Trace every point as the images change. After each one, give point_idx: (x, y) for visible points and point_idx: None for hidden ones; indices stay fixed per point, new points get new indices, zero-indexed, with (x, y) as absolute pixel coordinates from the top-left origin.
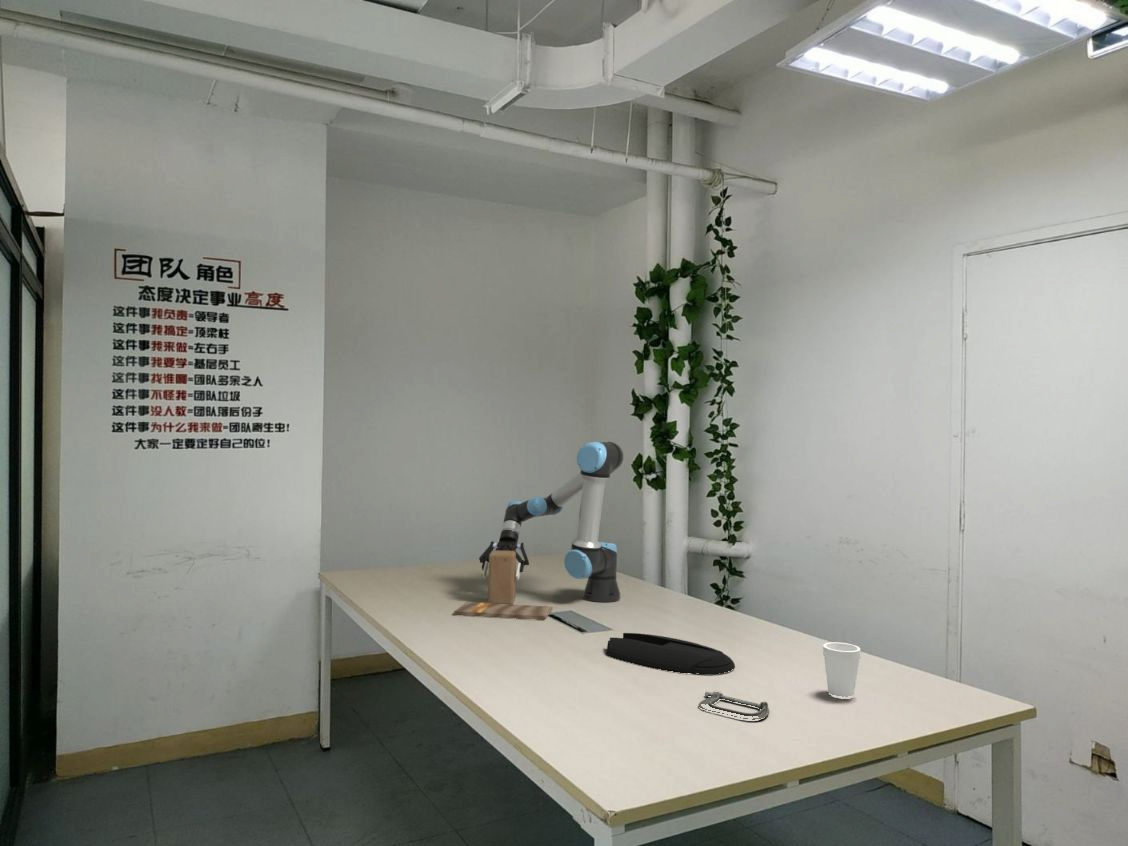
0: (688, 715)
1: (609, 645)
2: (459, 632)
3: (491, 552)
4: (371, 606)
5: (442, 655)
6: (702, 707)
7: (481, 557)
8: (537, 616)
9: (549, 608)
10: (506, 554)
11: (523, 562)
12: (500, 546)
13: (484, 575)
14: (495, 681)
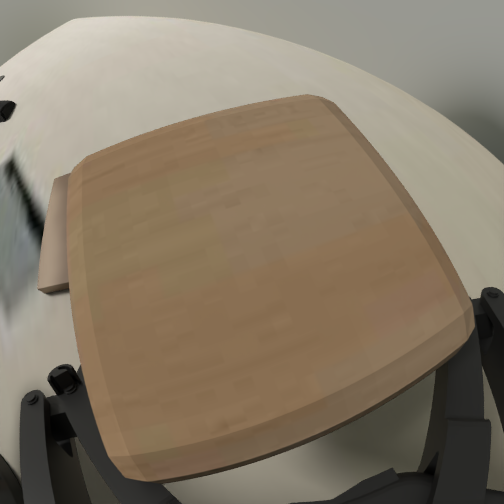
0: (13, 68)
1: (7, 102)
2: (211, 66)
3: (386, 170)
4: (484, 154)
5: (189, 28)
6: (3, 75)
7: (494, 299)
8: (70, 173)
9: (43, 261)
10: (142, 136)
11: (63, 388)
12: (462, 489)
13: None
14: (121, 28)
